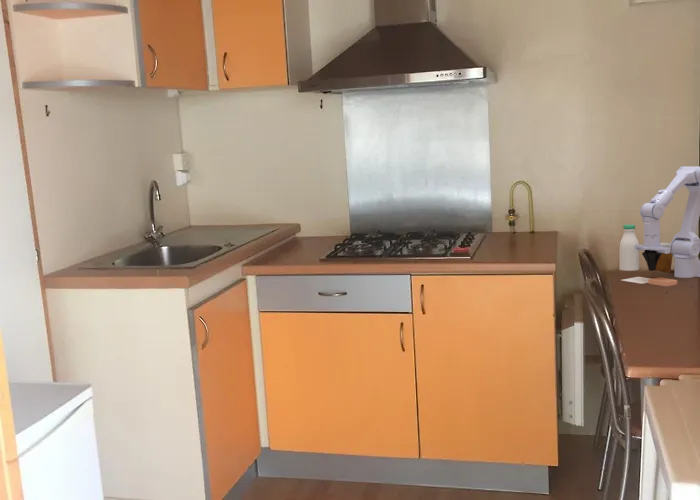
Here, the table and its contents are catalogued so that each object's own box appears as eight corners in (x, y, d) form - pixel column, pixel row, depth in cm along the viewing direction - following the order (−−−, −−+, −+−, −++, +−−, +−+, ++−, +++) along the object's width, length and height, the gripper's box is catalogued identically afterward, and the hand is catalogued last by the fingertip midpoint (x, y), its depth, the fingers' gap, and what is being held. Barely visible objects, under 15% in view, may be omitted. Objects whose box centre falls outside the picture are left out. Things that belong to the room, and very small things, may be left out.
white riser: (638, 280, 296) (638, 276, 296) (659, 283, 287) (659, 280, 287) (620, 283, 291) (620, 280, 291) (641, 287, 282) (641, 283, 282)
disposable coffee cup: (670, 270, 314) (670, 241, 312) (677, 274, 304) (678, 244, 303) (646, 270, 315) (646, 242, 313) (653, 274, 305) (653, 245, 304)
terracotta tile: (659, 283, 285) (659, 277, 284) (677, 286, 278) (677, 280, 277) (648, 286, 282) (648, 279, 282) (666, 289, 275) (666, 282, 275)
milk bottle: (640, 274, 309) (640, 225, 306) (620, 274, 310) (620, 226, 307) (637, 270, 316) (637, 223, 313) (618, 271, 318) (618, 224, 315)
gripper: (628, 234, 286) (629, 269, 288) (660, 237, 273) (660, 274, 275) (641, 232, 289) (641, 267, 291) (673, 235, 277) (673, 271, 279)
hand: (652, 270), depth 283 cm, fingers closed
